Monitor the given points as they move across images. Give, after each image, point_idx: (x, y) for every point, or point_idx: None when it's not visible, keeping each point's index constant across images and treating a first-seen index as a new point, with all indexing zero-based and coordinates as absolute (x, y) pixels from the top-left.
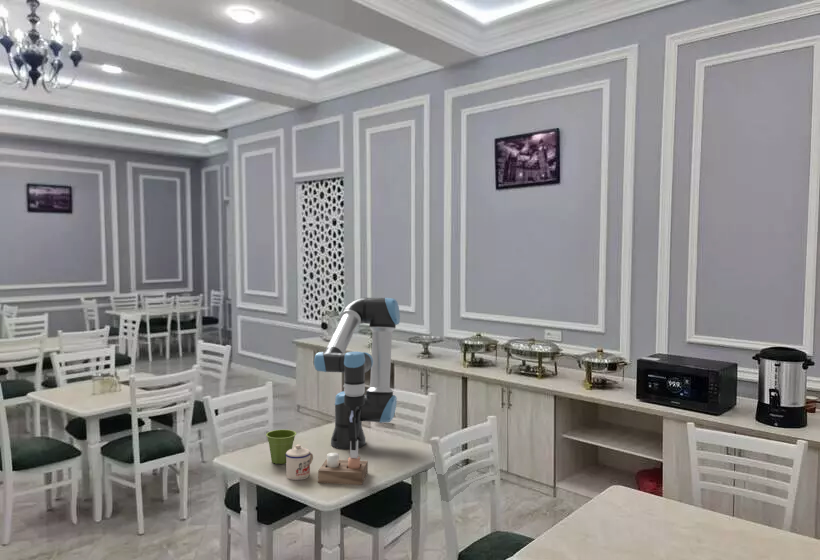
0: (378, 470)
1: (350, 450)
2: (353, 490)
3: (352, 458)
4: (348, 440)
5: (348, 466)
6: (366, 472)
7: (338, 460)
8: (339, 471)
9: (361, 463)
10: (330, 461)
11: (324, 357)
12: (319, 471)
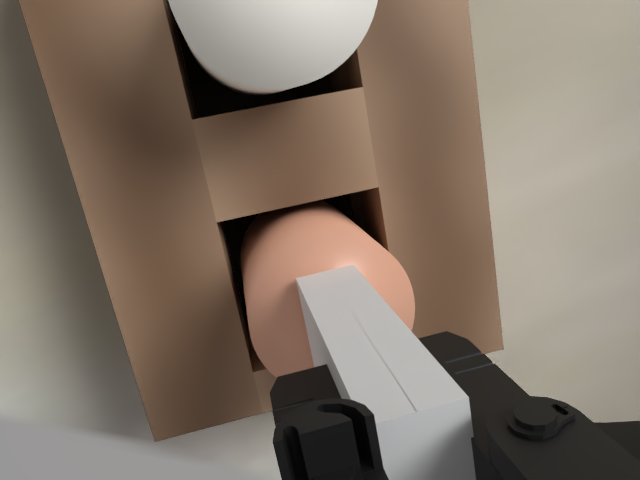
0: (521, 363)
1: (315, 328)
2: (18, 362)
3: None
4: (280, 438)
5: (268, 232)
6: None
7: (272, 90)
8: (83, 190)
9: (418, 320)
10: None
11: None
12: None
